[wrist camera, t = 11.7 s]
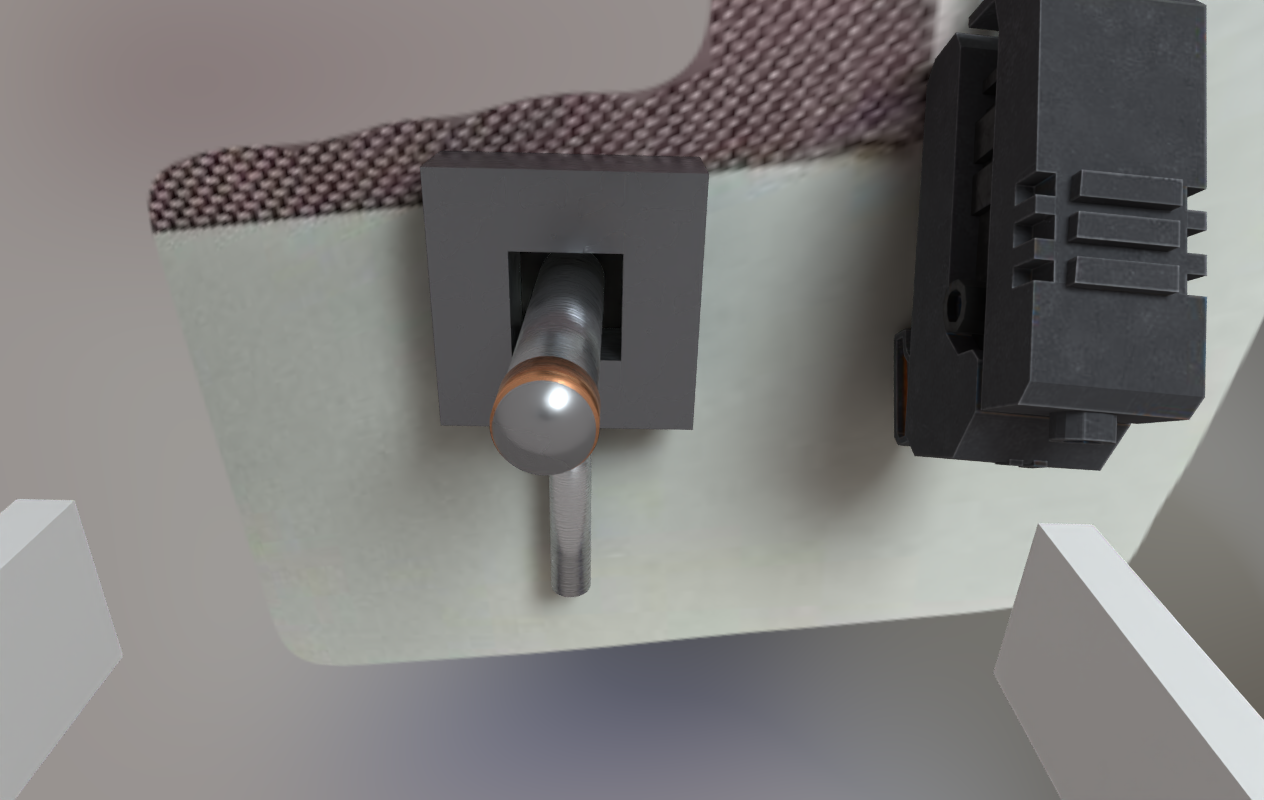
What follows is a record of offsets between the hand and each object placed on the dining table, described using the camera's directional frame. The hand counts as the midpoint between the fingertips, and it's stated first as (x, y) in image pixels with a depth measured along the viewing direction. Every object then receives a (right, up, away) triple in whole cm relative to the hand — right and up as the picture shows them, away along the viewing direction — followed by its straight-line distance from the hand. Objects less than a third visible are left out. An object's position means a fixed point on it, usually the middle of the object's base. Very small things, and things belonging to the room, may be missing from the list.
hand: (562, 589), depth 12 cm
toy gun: (+15, +12, +25) cm, 31 cm away
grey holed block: (-2, +4, +28) cm, 28 cm away
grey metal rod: (-2, +8, +26) cm, 27 cm away
